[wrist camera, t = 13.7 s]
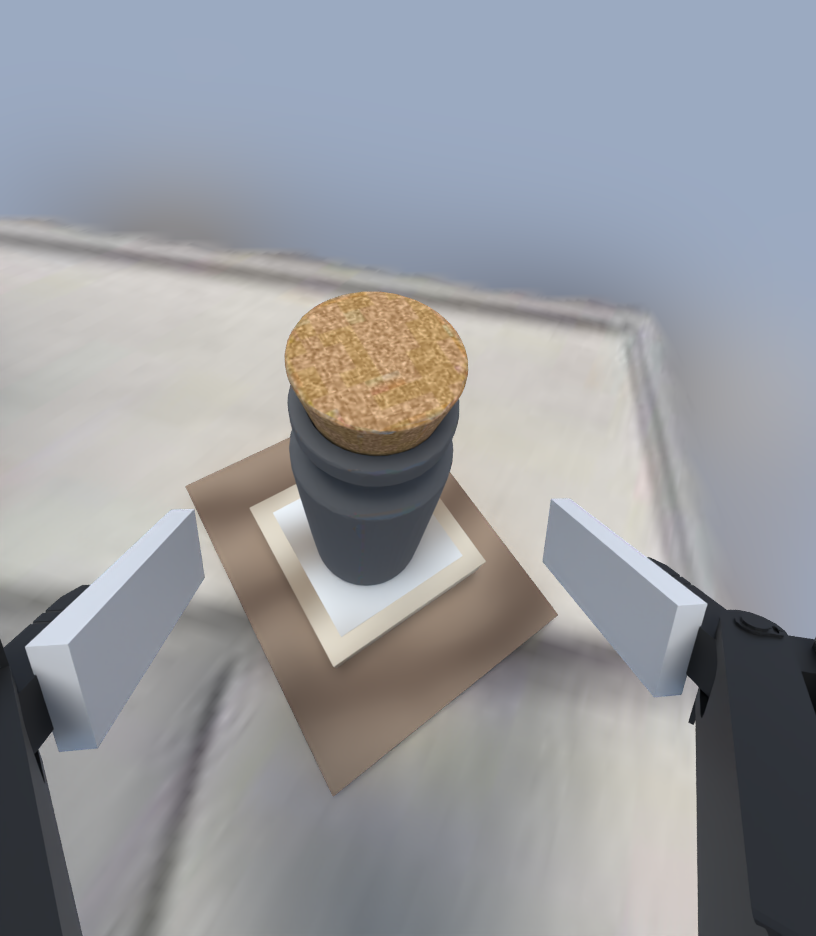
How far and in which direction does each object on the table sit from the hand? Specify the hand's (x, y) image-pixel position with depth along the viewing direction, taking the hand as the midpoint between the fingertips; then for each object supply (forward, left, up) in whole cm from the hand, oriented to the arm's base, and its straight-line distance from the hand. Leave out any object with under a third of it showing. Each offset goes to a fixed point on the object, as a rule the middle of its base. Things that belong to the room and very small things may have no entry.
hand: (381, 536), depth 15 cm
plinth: (-3, +1, -13) cm, 13 cm away
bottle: (-2, +1, -8) cm, 9 cm away
